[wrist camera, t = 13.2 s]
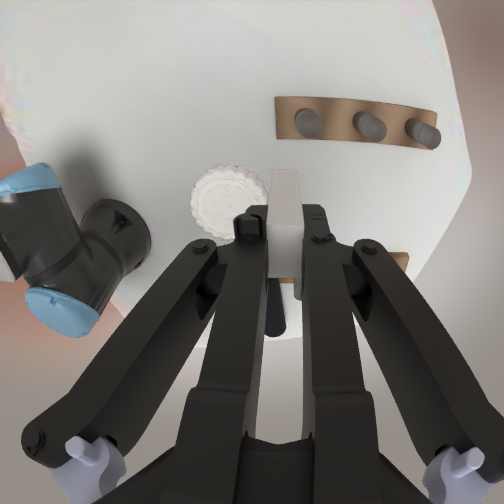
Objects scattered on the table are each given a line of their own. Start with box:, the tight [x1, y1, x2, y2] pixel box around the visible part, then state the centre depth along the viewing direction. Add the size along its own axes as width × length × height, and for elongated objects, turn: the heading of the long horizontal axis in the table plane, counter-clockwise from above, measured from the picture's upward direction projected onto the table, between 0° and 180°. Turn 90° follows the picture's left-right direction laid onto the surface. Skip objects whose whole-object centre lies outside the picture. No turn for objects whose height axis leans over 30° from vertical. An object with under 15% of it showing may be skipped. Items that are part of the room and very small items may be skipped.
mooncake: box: [189, 164, 268, 240], centre depth 43 cm, size 12×12×4 cm
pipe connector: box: [264, 278, 286, 337], centre depth 55 cm, size 12×5×15 cm
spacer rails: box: [275, 97, 441, 301], centre depth 39 cm, size 24×32×8 cm
